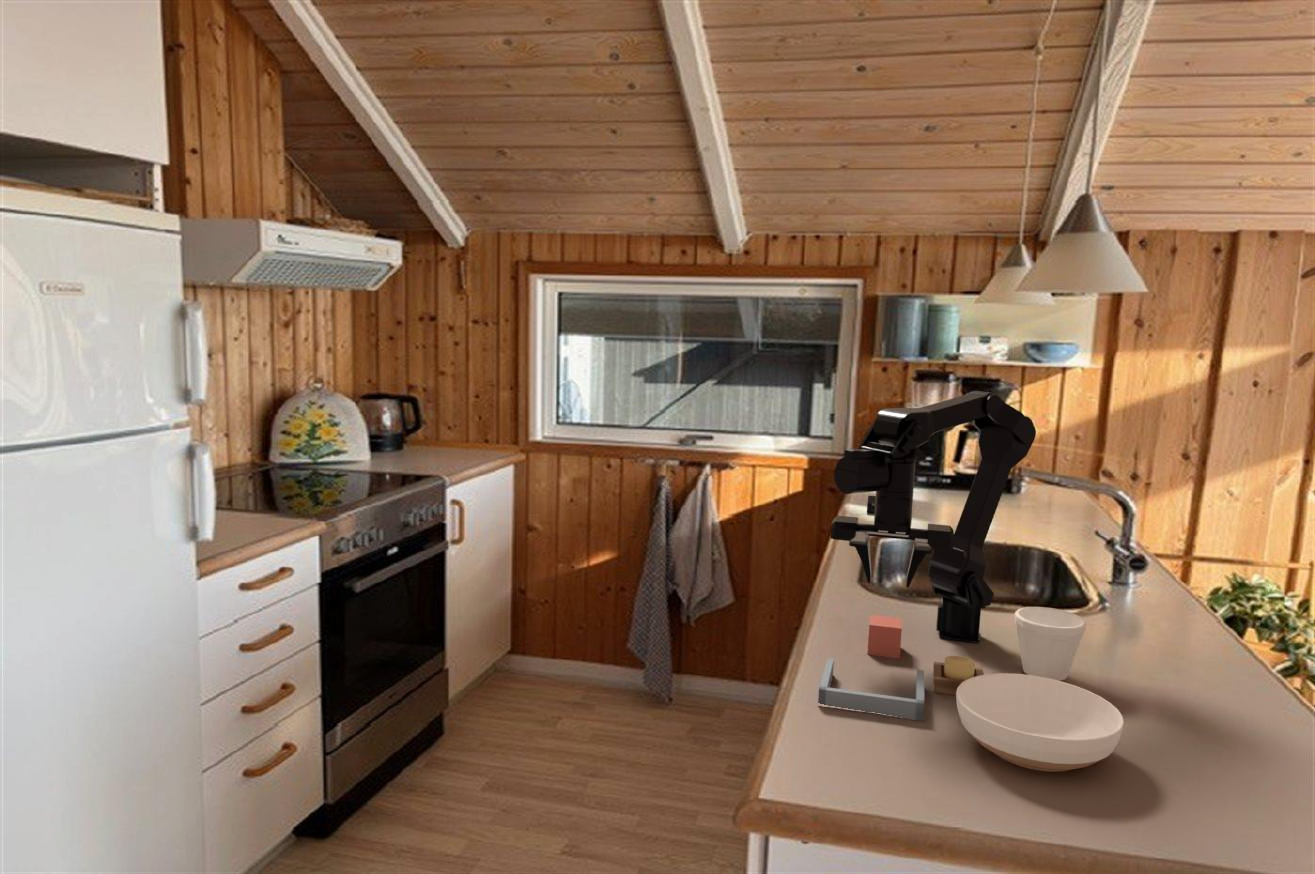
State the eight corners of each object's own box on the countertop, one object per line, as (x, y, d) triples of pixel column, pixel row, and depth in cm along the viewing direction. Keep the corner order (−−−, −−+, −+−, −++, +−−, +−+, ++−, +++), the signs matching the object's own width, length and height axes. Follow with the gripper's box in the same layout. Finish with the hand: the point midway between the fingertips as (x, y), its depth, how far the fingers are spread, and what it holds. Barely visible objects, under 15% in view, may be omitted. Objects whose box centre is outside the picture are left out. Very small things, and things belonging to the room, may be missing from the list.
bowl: (1156, 778, 110) (1162, 730, 109) (1018, 799, 105) (1022, 748, 104) (1045, 709, 129) (1049, 667, 128) (922, 723, 123) (926, 679, 122)
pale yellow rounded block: (972, 678, 137) (974, 657, 137) (974, 689, 133) (975, 668, 133) (943, 674, 138) (944, 654, 138) (943, 685, 134) (945, 664, 134)
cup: (1013, 658, 147) (1017, 602, 146) (1081, 670, 143) (1087, 613, 142) (1006, 679, 138) (1011, 620, 137) (1079, 693, 134) (1085, 632, 133)
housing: (981, 680, 138) (982, 667, 138) (984, 698, 131) (985, 685, 131) (932, 673, 140) (933, 661, 140) (933, 691, 133) (934, 678, 133)
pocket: (922, 686, 135) (923, 670, 135) (923, 721, 124) (924, 703, 123) (826, 673, 139) (827, 657, 138) (817, 706, 127) (818, 688, 127)
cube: (900, 647, 151) (902, 618, 150) (899, 658, 146) (901, 628, 145) (868, 643, 152) (870, 614, 151) (867, 654, 147) (869, 624, 147)
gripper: (954, 484, 150) (947, 577, 153) (839, 476, 155) (833, 565, 158) (957, 497, 140) (949, 597, 142) (833, 487, 145) (827, 583, 147)
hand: (888, 584), depth 147 cm, fingers open, 6 cm apart
